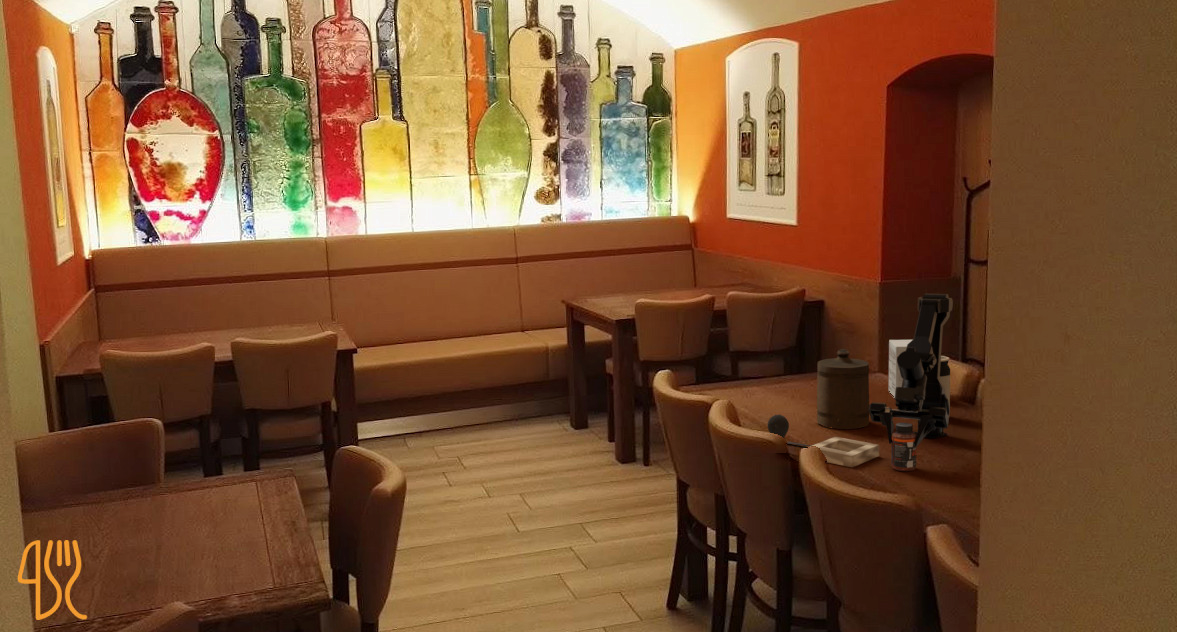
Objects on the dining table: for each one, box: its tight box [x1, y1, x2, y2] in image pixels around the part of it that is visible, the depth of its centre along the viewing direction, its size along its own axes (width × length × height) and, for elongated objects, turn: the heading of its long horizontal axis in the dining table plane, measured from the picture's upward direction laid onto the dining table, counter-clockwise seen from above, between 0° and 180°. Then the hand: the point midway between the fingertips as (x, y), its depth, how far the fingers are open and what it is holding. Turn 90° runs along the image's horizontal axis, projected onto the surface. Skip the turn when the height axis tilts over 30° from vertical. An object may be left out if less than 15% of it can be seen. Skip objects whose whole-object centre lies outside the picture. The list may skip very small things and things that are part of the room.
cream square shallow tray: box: [809, 436, 880, 468], centre depth 266 cm, size 13×13×3 cm
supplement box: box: [888, 339, 913, 399], centre depth 330 cm, size 13×13×18 cm
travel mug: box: [940, 355, 951, 419], centre depth 302 cm, size 8×8×18 cm
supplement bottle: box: [890, 422, 918, 472], centre depth 254 cm, size 6×6×11 cm
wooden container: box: [816, 348, 870, 430], centre depth 299 cm, size 15×15×22 cm
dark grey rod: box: [787, 441, 812, 448], centre depth 277 cm, size 12×1×1 cm, turn 49°
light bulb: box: [767, 414, 790, 439], centre depth 273 cm, size 6×6×10 cm
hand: (902, 444), depth 253 cm, fingers closed on supplement bottle, 6 cm apart
